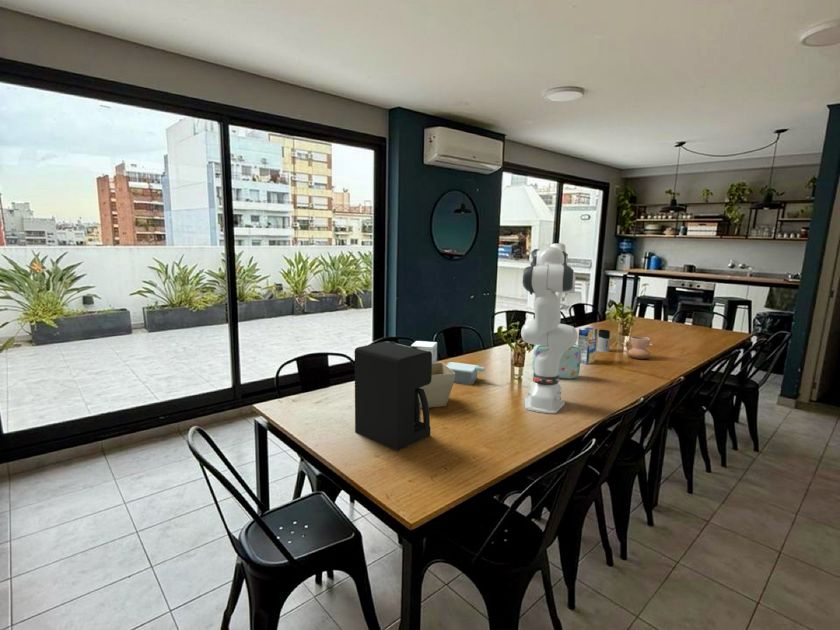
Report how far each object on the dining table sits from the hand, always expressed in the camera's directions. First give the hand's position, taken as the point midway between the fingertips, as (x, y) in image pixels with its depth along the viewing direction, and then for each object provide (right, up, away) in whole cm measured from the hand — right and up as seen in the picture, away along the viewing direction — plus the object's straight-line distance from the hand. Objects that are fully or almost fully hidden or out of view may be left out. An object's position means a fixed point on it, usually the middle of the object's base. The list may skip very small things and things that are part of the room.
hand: (554, 300), depth 235 cm
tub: (-49, -44, +12) cm, 67 cm away
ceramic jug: (+78, -37, +69) cm, 111 cm away
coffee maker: (-81, -56, -60) cm, 115 cm away
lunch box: (+7, -44, +21) cm, 49 cm away
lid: (-47, -38, +10) cm, 61 cm away
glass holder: (+64, -34, +85) cm, 111 cm away
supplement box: (-69, -42, +25) cm, 85 cm away
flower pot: (-67, -50, -24) cm, 87 cm away
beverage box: (+37, -39, +55) cm, 77 cm away
